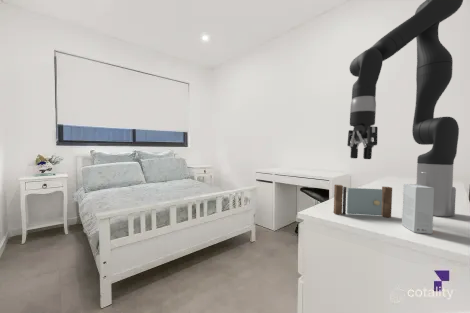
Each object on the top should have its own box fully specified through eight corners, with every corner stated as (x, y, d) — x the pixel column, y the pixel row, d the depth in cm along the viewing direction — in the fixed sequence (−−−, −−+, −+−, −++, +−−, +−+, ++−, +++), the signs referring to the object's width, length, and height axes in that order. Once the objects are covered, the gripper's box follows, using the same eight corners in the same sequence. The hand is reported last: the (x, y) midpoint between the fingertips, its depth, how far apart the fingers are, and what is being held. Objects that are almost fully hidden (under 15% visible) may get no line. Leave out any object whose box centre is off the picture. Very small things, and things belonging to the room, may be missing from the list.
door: (379, 214, 70) (380, 189, 70) (382, 216, 68) (383, 190, 68) (346, 212, 72) (347, 187, 71) (348, 214, 70) (349, 188, 70)
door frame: (387, 215, 70) (388, 186, 70) (391, 217, 68) (392, 187, 68) (333, 212, 73) (334, 184, 73) (335, 214, 71) (336, 185, 71)
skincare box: (433, 234, 55) (435, 187, 54) (414, 232, 55) (416, 187, 55) (418, 226, 60) (419, 184, 60) (400, 225, 61) (402, 183, 61)
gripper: (387, 107, 66) (384, 160, 66) (362, 115, 80) (360, 158, 81) (362, 107, 66) (360, 159, 67) (342, 114, 81) (339, 157, 81)
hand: (360, 158), depth 74 cm, fingers open, 8 cm apart
